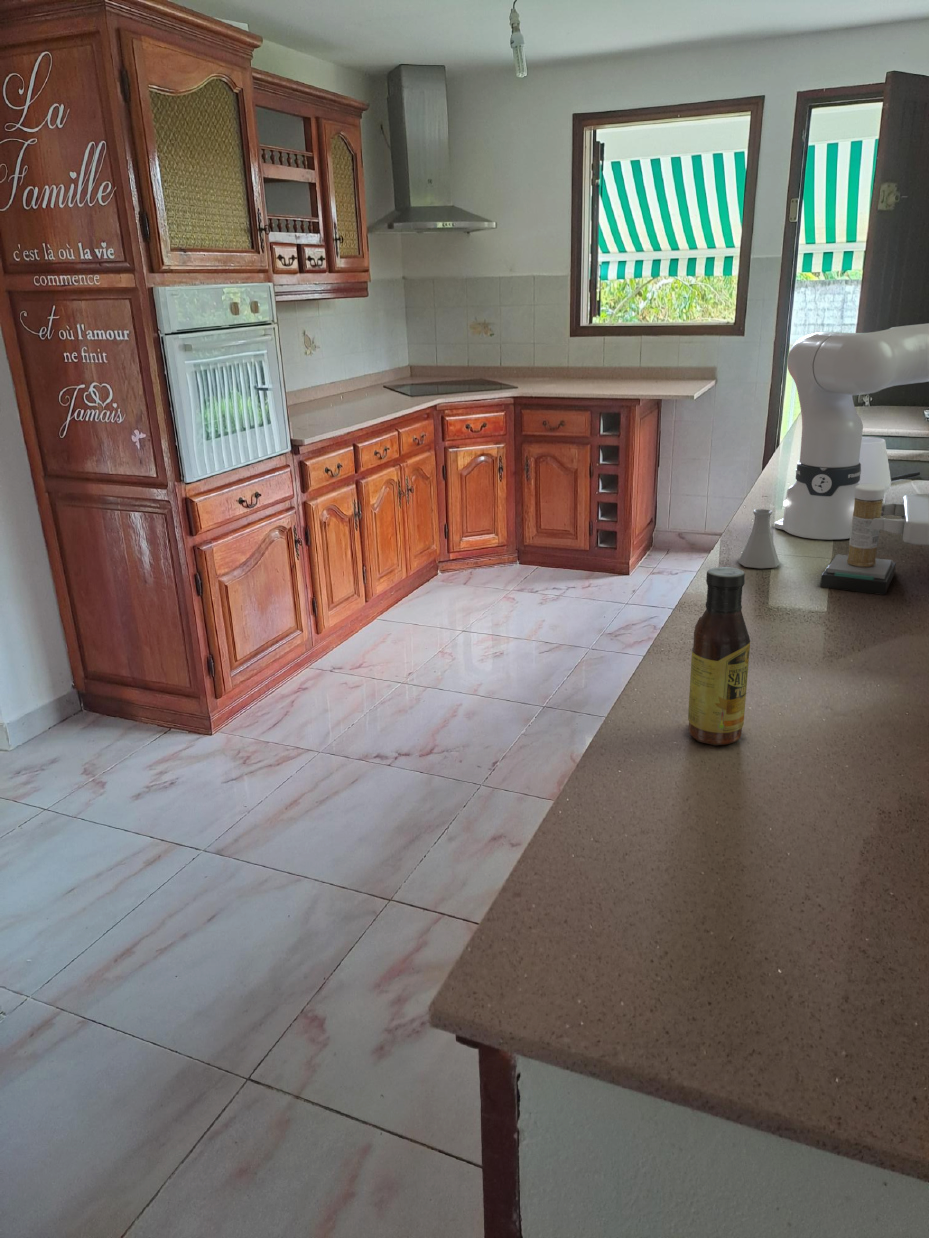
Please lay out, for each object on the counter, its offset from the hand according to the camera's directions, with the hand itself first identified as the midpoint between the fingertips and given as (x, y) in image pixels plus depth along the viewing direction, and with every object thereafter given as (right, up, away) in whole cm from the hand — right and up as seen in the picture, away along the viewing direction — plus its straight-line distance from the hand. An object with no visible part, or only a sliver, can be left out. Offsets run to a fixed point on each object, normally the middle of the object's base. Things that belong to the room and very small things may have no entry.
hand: (872, 516), depth 146 cm
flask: (-14, -7, +16) cm, 22 cm away
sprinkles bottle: (0, -8, +4) cm, 9 cm away
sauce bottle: (-39, -31, -44) cm, 66 cm away
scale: (0, -10, +5) cm, 12 cm away
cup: (+23, +10, +58) cm, 63 cm away
